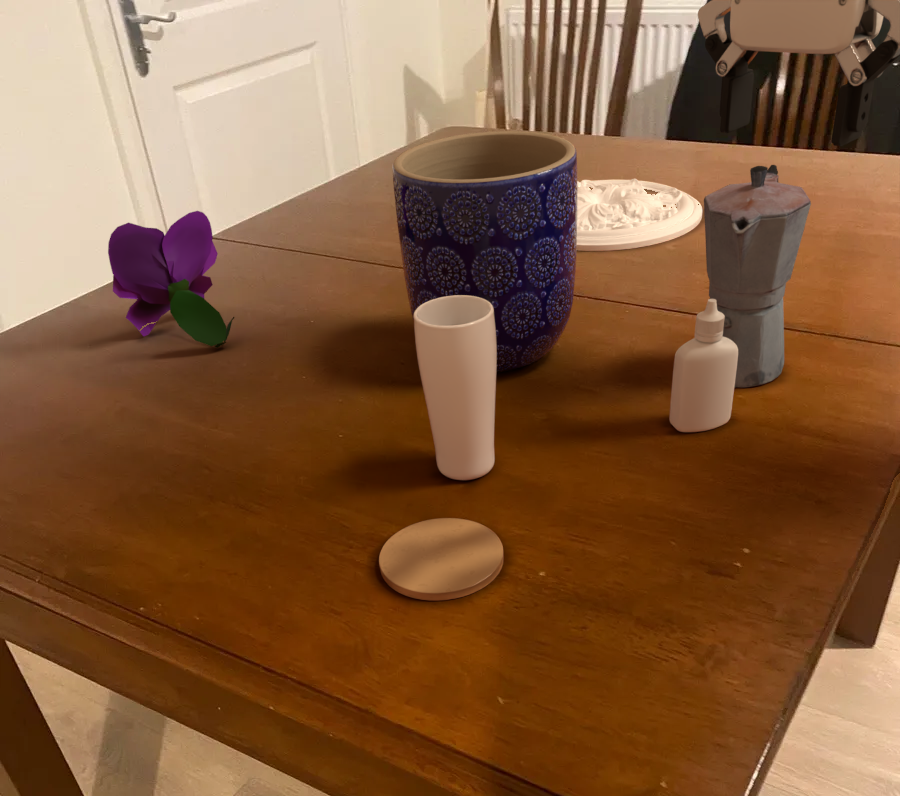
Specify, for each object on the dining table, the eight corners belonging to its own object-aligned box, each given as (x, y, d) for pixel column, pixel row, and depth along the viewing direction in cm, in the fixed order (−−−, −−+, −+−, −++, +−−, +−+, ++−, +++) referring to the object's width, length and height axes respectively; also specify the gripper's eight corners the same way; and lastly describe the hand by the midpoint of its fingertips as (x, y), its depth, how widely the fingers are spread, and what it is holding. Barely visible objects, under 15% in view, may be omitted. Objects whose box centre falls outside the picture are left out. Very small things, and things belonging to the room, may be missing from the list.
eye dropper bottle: (670, 410, 90) (680, 290, 82) (730, 413, 88) (745, 290, 81) (667, 433, 86) (677, 309, 79) (729, 435, 85) (745, 311, 77)
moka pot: (675, 396, 92) (692, 185, 79) (703, 333, 102) (723, 138, 90) (774, 406, 89) (809, 188, 76) (793, 340, 99) (826, 139, 87)
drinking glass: (511, 452, 86) (504, 296, 76) (490, 491, 81) (480, 329, 72) (444, 445, 88) (428, 292, 78) (419, 483, 83) (400, 324, 74)
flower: (269, 360, 118) (207, 292, 121) (281, 269, 106) (211, 195, 109) (171, 403, 111) (108, 330, 114) (172, 311, 98) (100, 231, 101)
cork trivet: (529, 558, 73) (529, 550, 73) (435, 618, 68) (434, 610, 68) (446, 511, 79) (445, 503, 79) (355, 563, 74) (353, 556, 74)
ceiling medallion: (729, 197, 138) (732, 175, 136) (656, 261, 120) (657, 236, 118) (562, 182, 151) (562, 161, 149) (474, 237, 133) (473, 215, 131)
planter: (551, 396, 94) (548, 184, 81) (387, 380, 100) (360, 179, 87) (593, 323, 107) (597, 130, 94) (446, 312, 113) (430, 129, 100)
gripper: (981, -165, 57) (920, 134, 68) (741, -141, 68) (722, 114, 79) (922, -153, 54) (868, 160, 64) (679, -130, 64) (667, 135, 75)
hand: (788, 134), depth 71 cm, fingers open, 9 cm apart
